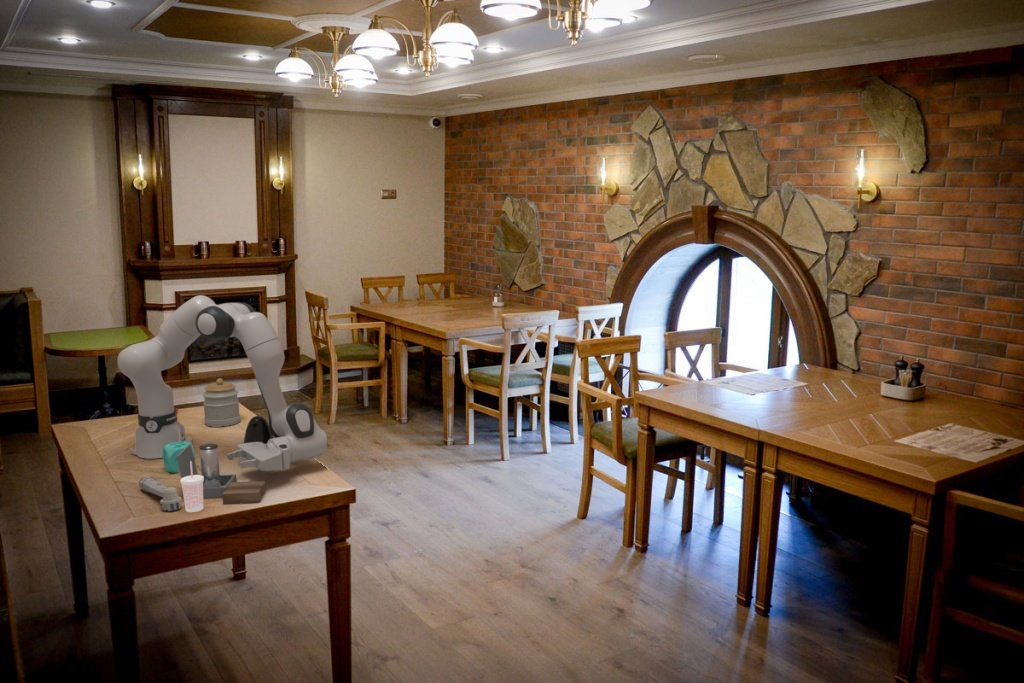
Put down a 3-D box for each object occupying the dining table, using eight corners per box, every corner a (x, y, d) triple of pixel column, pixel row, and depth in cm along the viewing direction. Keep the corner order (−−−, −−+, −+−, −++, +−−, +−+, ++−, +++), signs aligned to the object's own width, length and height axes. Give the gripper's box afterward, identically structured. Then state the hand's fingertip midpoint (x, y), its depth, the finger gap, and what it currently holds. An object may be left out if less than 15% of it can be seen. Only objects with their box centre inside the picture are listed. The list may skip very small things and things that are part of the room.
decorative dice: (170, 474, 259) (168, 450, 257) (163, 468, 265) (161, 444, 264) (196, 469, 264) (194, 445, 262) (189, 463, 270) (187, 439, 268)
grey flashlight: (153, 474, 248) (182, 484, 229) (156, 495, 249) (185, 507, 230) (135, 478, 245) (163, 488, 226) (138, 499, 246) (165, 512, 227)
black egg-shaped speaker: (239, 465, 267) (235, 420, 265) (250, 455, 278) (247, 411, 275) (269, 465, 267) (267, 420, 264) (280, 455, 277) (277, 412, 274)
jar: (236, 426, 312) (233, 381, 309) (201, 428, 310) (197, 382, 307) (243, 417, 325) (240, 374, 322) (209, 419, 323) (205, 375, 320)
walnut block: (231, 491, 244) (231, 482, 243) (266, 490, 244) (265, 480, 244) (222, 504, 234) (222, 494, 233) (258, 502, 235) (258, 492, 234)
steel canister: (205, 488, 246) (202, 443, 244) (222, 488, 247) (219, 443, 244) (200, 494, 241) (197, 448, 239) (218, 494, 242) (214, 448, 239)
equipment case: (191, 485, 249) (187, 444, 247) (236, 483, 250) (233, 442, 248) (179, 499, 238) (175, 456, 235) (227, 497, 239) (223, 454, 237)
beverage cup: (199, 503, 234) (195, 456, 232) (210, 508, 231) (206, 460, 228) (178, 509, 230) (174, 461, 227) (189, 515, 226) (185, 466, 224)
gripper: (263, 434, 263) (220, 442, 255) (290, 449, 247) (245, 459, 239) (264, 453, 264) (221, 462, 256) (291, 469, 248) (246, 479, 240)
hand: (233, 460), depth 247 cm, fingers open, 8 cm apart
